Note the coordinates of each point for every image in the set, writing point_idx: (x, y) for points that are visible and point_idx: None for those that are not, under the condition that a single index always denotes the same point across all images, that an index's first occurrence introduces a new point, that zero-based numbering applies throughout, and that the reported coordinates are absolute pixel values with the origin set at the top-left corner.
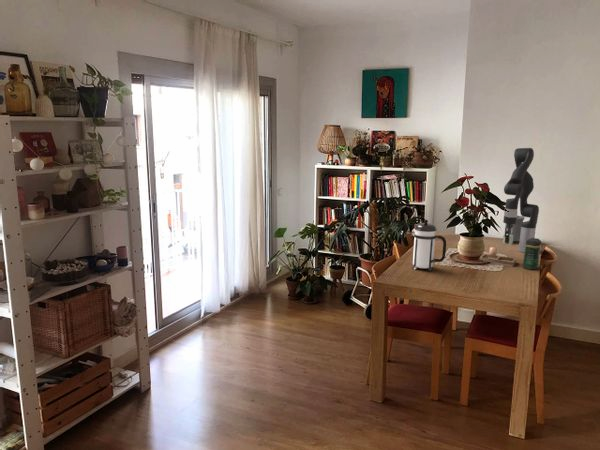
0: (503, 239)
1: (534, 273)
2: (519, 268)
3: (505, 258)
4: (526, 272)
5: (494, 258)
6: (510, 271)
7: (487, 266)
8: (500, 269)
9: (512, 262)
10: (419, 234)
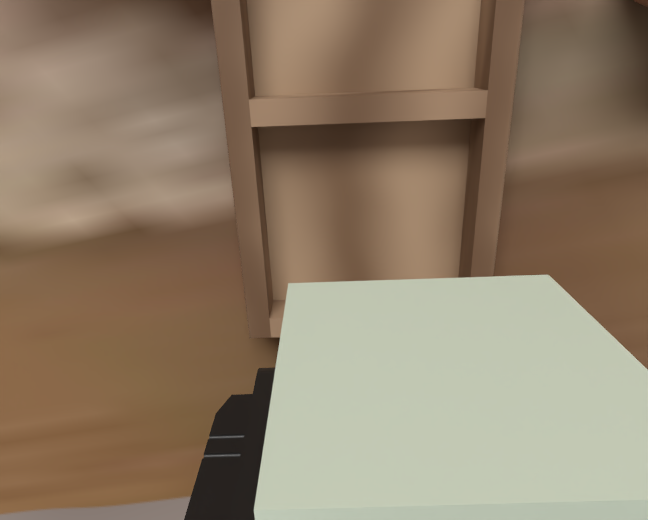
0: (280, 374)
1: (158, 500)
2: (234, 377)
3: (471, 196)
4: (134, 448)
5: (477, 24)
6: (34, 330)
7: (7, 39)
8: (16, 225)
9: (249, 330)
10: None
